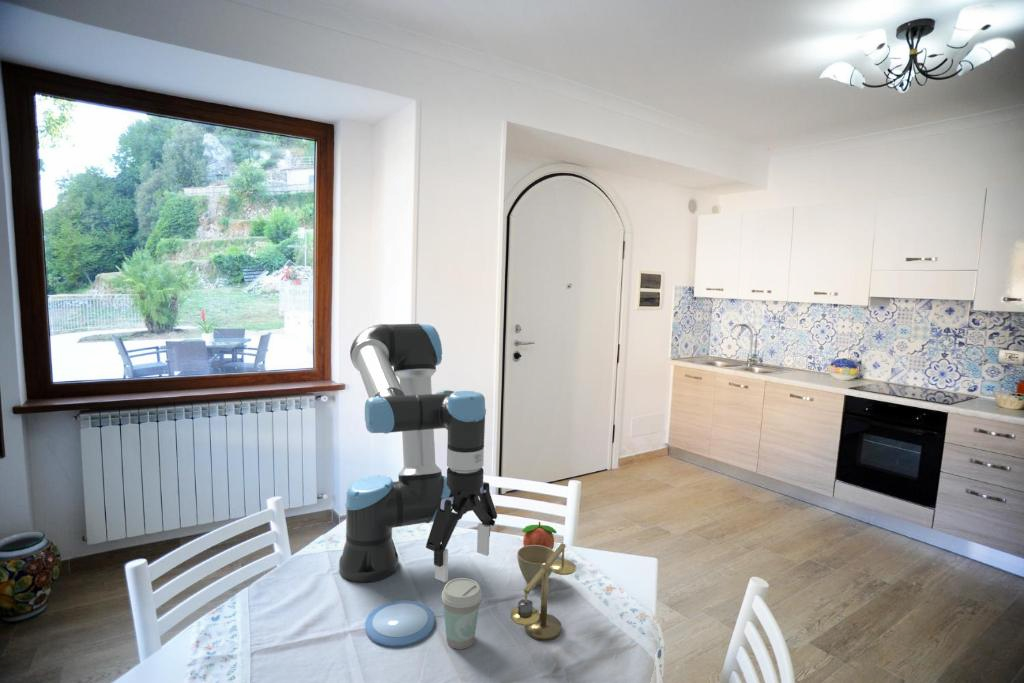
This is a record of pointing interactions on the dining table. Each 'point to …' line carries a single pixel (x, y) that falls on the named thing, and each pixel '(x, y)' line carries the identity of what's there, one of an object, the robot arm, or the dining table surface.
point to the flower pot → (533, 560)
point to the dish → (399, 623)
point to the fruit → (539, 535)
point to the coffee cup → (461, 611)
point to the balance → (542, 600)
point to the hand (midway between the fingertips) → (463, 566)
